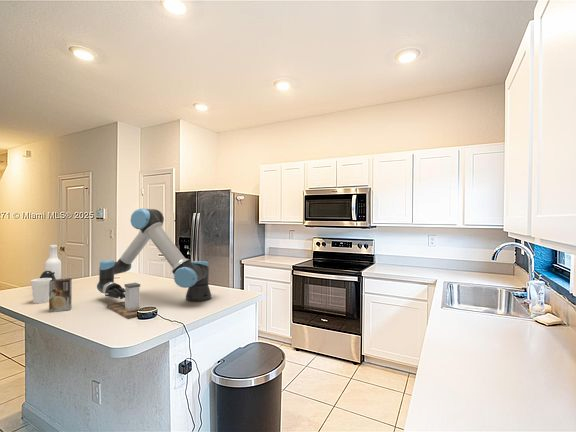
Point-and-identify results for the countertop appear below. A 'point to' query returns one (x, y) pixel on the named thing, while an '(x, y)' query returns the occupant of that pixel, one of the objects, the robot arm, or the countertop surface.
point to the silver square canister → (132, 297)
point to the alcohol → (53, 262)
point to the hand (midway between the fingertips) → (129, 297)
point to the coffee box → (60, 294)
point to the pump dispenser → (48, 275)
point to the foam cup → (40, 290)
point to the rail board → (122, 310)
